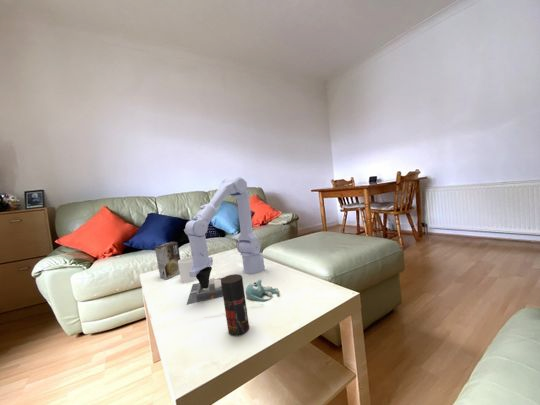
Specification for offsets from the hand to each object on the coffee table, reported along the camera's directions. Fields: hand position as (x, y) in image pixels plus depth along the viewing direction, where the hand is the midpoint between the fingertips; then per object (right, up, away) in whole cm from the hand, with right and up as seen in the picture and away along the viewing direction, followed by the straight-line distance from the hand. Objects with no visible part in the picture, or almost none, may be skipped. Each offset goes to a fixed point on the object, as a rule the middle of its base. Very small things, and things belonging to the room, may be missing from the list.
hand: (205, 287), depth 88 cm
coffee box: (-26, -5, +31) cm, 41 cm away
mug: (-10, -4, +21) cm, 24 cm away
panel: (+2, -4, +6) cm, 8 cm away
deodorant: (+15, -5, -21) cm, 26 cm away
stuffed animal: (+22, -2, -4) cm, 22 cm away
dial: (+2, -3, +5) cm, 6 cm away
